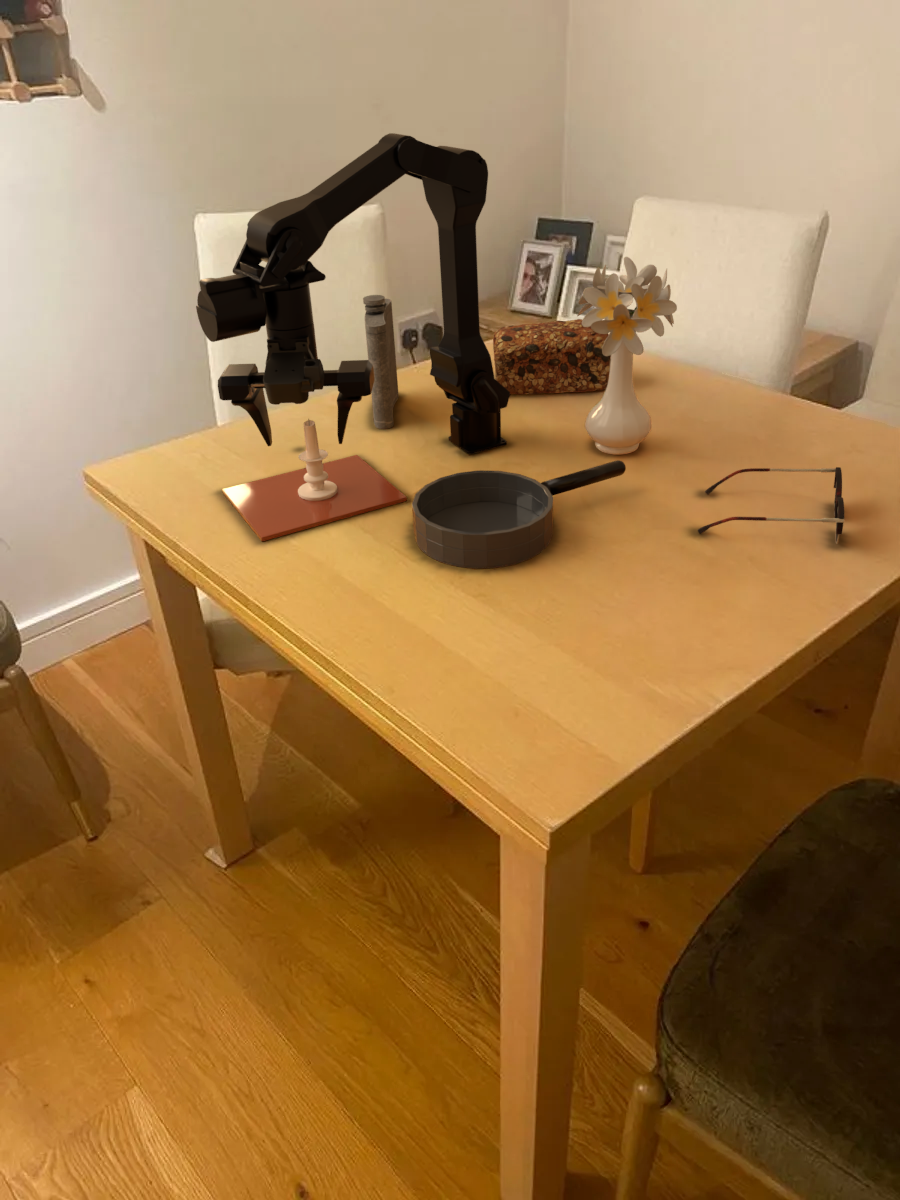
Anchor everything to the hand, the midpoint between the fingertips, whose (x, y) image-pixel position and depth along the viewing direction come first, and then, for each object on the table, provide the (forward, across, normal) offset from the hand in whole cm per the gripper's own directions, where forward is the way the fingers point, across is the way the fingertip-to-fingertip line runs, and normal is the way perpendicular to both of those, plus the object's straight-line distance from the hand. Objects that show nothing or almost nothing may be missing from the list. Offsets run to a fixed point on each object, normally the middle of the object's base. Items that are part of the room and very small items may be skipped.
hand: (305, 443), depth 125 cm
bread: (+8, +34, +39) cm, 53 cm away
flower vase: (+8, +42, +13) cm, 45 cm away
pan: (+8, +23, -11) cm, 26 cm away
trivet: (+8, 0, 0) cm, 8 cm away
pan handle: (+5, +35, -4) cm, 36 cm away
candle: (+7, +1, 0) cm, 7 cm away
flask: (+8, +7, +30) cm, 32 cm away
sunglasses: (+8, +58, -9) cm, 59 cm away
